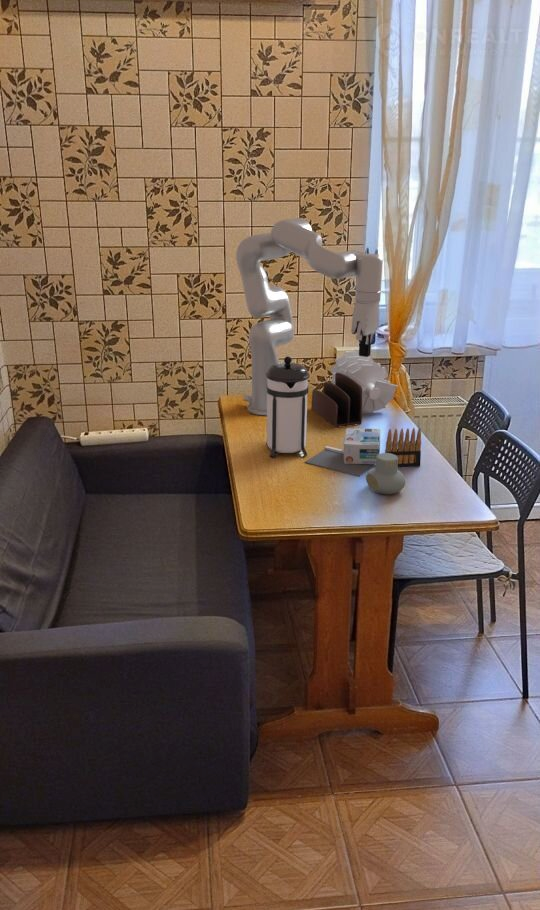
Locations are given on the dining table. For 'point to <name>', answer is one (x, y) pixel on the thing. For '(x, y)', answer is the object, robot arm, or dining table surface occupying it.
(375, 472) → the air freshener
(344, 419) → the letter holder
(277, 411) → the coffee press
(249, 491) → the dining table surface
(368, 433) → the light bulb box
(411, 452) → the ammunition clip
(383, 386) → the spiral staircase
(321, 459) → the mat
